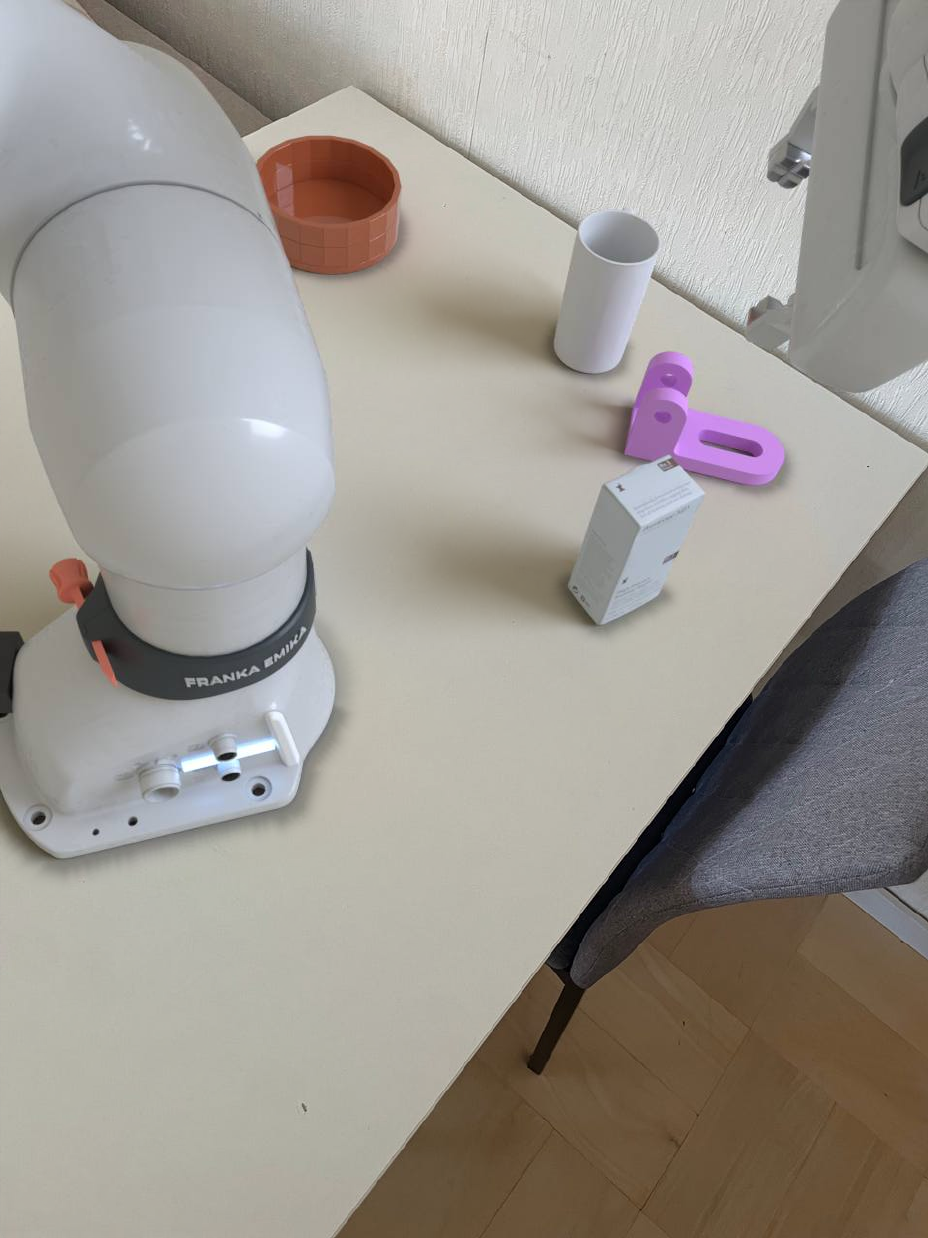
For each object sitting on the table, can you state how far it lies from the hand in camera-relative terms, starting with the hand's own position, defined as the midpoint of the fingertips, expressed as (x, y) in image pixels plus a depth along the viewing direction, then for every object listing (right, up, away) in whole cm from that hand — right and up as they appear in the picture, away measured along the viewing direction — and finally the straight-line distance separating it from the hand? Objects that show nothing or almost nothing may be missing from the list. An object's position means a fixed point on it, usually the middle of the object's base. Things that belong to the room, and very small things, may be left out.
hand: (767, 250), depth 51 cm
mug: (-4, +7, +41) cm, 42 cm away
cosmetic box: (-4, -16, +27) cm, 32 cm away
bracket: (+5, -4, +36) cm, 36 cm away
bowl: (-28, +19, +45) cm, 56 cm away
